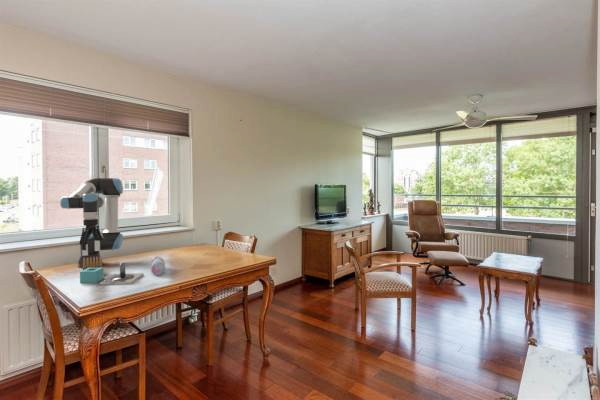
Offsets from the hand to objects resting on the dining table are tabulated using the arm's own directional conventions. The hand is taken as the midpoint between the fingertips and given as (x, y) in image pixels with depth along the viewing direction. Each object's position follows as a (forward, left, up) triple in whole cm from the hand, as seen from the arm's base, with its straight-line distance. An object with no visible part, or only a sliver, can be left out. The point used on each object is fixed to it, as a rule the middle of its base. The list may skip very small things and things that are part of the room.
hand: (91, 253), depth 191 cm
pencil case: (-16, +34, -18) cm, 42 cm away
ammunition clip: (-14, -7, -18) cm, 24 cm away
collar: (0, 0, -17) cm, 17 cm away
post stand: (0, +18, -17) cm, 25 cm away
